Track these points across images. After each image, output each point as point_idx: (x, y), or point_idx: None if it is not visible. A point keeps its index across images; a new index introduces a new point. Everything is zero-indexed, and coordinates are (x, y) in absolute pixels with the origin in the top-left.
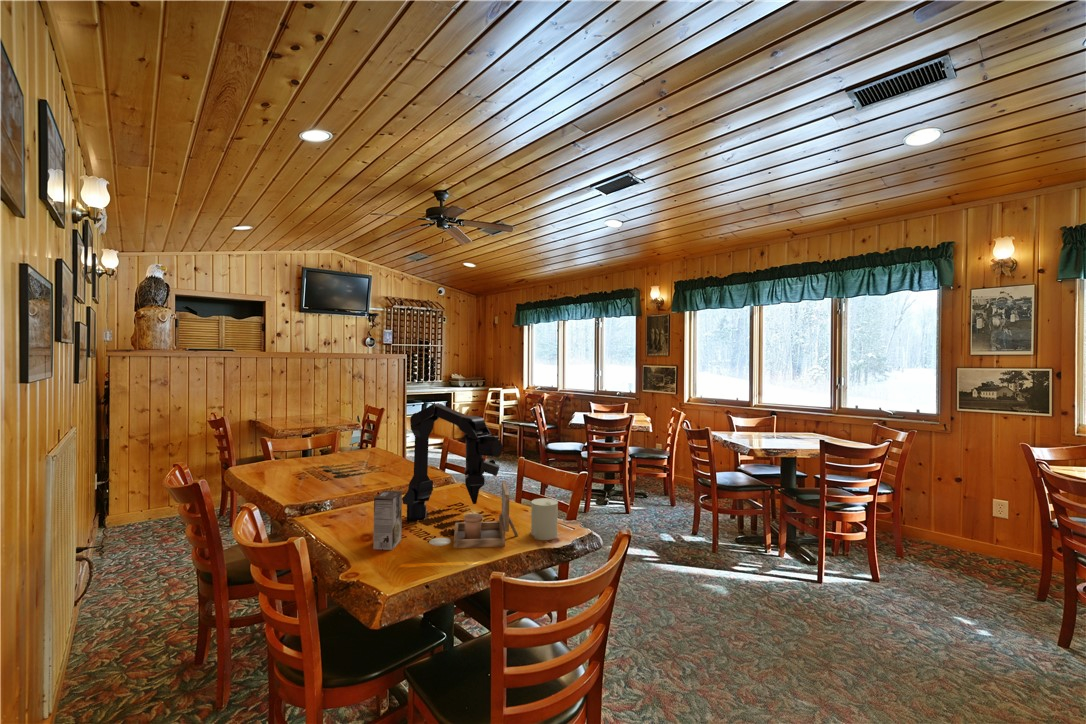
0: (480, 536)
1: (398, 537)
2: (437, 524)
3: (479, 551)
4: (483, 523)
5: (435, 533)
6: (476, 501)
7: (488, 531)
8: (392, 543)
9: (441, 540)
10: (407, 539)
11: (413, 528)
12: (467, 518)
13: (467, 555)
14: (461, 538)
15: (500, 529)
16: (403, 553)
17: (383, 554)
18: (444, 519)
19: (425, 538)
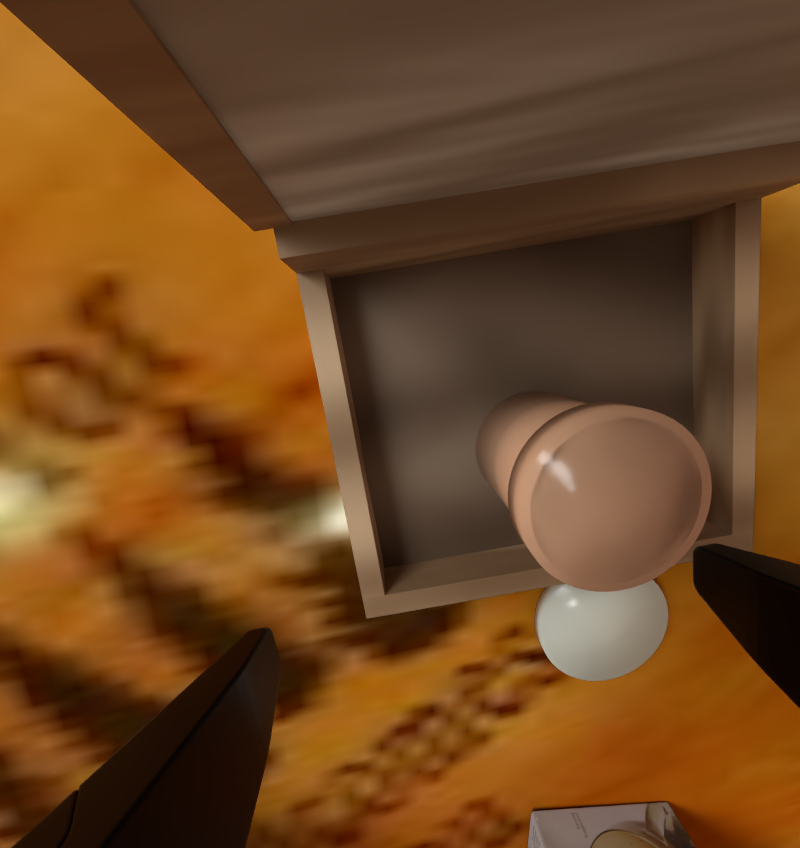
0: (555, 394)
1: (601, 843)
2: None
3: None
4: (349, 408)
5: (416, 679)
6: (762, 558)
7: (404, 355)
8: (691, 840)
9: (586, 621)
10: (521, 784)
11: (338, 808)
12: (691, 545)
13: (785, 429)
14: None
15: (541, 232)
16: (719, 743)
17: (723, 816)
18: (132, 695)
19: (503, 707)
